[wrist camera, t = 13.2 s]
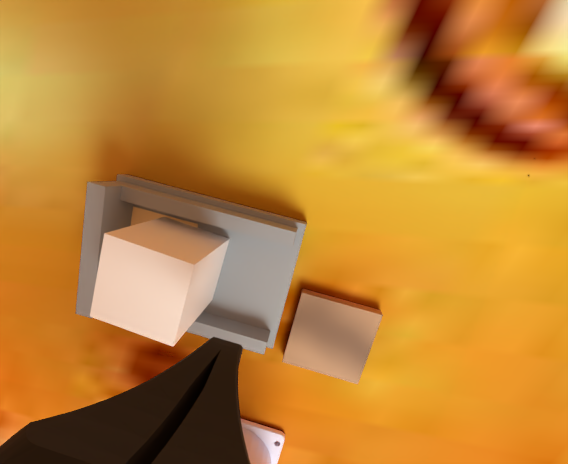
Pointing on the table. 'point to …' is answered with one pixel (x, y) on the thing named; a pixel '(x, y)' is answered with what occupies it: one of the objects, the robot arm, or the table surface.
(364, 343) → the stand
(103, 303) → the block
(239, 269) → the tray
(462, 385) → the table surface
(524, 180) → the table surface
